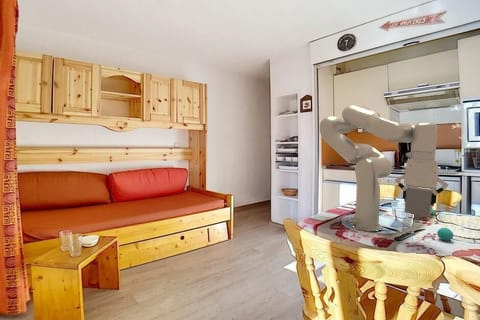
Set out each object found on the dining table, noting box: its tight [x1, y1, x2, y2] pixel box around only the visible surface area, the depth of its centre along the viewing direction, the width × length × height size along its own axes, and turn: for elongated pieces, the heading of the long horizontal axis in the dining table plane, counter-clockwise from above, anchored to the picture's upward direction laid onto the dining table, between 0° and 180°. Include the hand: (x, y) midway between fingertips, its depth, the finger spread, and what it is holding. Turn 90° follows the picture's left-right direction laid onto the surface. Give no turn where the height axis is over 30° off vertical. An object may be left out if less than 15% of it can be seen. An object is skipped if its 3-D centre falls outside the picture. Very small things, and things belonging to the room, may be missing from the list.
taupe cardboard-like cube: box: [403, 186, 433, 218], centre depth 100 cm, size 8×8×9 cm
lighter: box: [413, 214, 428, 221], centre depth 134 cm, size 8×3×10 cm, turn 58°
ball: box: [436, 227, 454, 242], centre depth 104 cm, size 5×5×5 cm
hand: (418, 202), depth 100 cm, fingers closed on taupe cardboard-like cube, 7 cm apart
